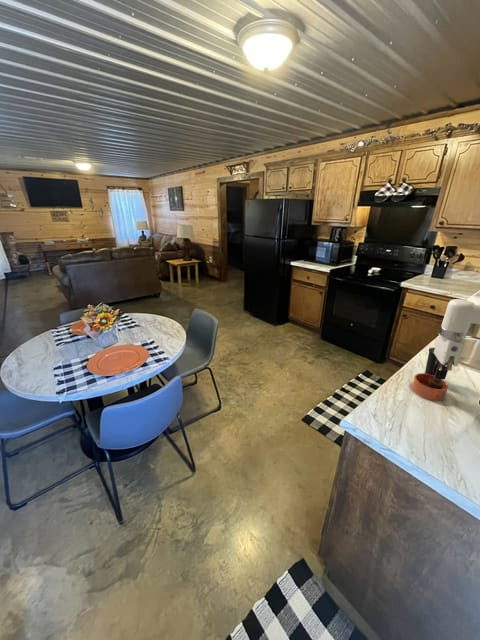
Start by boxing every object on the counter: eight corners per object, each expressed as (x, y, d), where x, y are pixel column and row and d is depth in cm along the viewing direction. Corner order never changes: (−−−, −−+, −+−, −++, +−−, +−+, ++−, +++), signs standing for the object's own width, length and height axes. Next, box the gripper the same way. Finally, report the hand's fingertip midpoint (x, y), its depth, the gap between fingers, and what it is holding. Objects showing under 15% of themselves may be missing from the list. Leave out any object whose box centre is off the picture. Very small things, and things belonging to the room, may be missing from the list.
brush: (439, 385, 105) (447, 361, 101) (443, 392, 101) (452, 368, 97) (425, 383, 106) (432, 359, 102) (429, 390, 102) (437, 366, 98)
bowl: (438, 386, 109) (442, 376, 107) (448, 403, 99) (453, 392, 97) (408, 381, 112) (411, 371, 110) (415, 397, 102) (419, 386, 100)
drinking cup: (439, 377, 115) (453, 336, 107) (443, 387, 108) (459, 344, 101) (418, 372, 118) (431, 332, 110) (421, 382, 111) (435, 340, 103)
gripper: (475, 344, 86) (458, 390, 93) (455, 326, 100) (441, 367, 107) (448, 341, 88) (433, 386, 96) (432, 323, 102) (420, 364, 110)
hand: (438, 375), depth 101 cm, fingers closed on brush
